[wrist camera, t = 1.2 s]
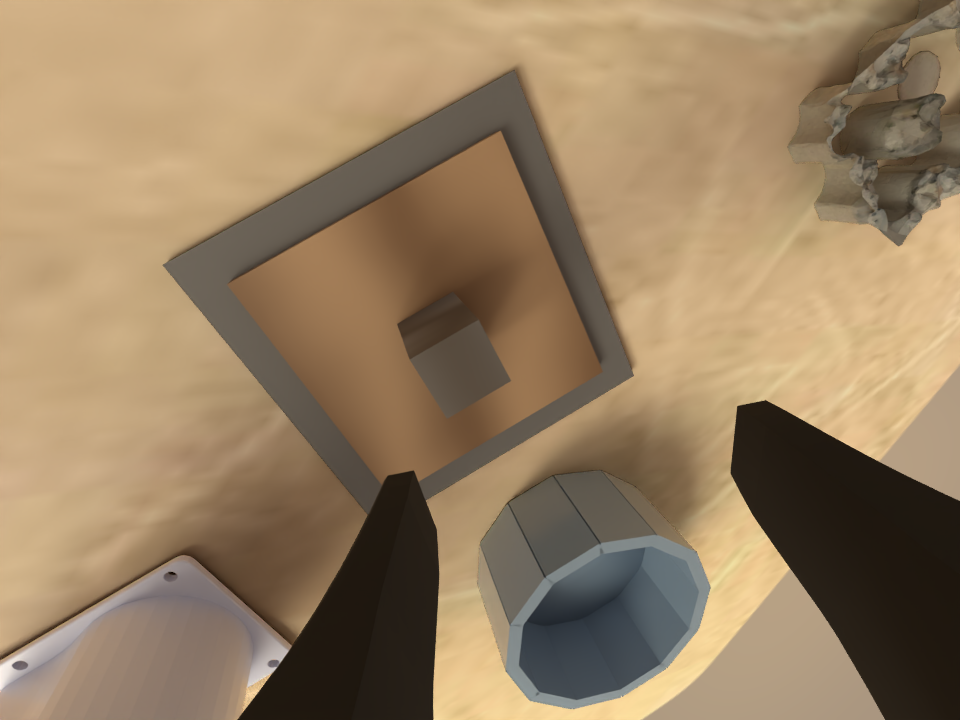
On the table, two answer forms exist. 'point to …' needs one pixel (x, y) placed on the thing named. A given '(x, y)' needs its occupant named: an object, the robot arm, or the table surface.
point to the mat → (351, 190)
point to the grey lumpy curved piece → (886, 132)
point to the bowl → (588, 589)
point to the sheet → (405, 275)
